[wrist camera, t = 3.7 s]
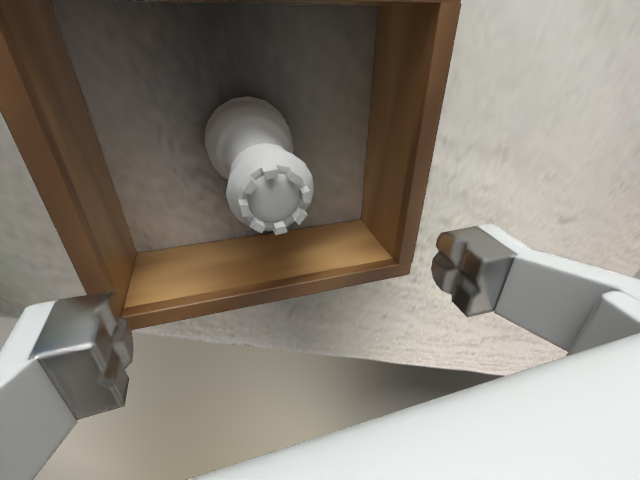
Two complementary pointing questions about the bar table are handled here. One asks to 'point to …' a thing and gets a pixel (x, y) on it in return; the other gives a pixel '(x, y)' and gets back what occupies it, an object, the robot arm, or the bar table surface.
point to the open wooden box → (246, 252)
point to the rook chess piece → (258, 164)
